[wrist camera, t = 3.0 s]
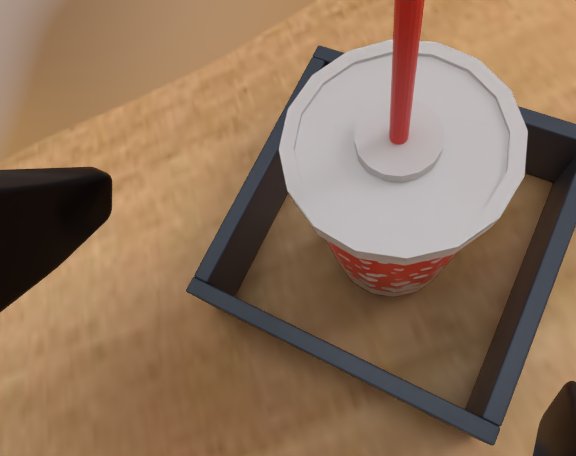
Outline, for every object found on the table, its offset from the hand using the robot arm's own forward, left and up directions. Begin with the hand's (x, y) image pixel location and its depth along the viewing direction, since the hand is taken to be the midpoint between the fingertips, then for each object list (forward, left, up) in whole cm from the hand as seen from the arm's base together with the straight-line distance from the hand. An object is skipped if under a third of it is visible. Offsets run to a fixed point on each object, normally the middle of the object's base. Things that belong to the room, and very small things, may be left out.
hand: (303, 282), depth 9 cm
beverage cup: (+4, +1, -12) cm, 13 cm away
